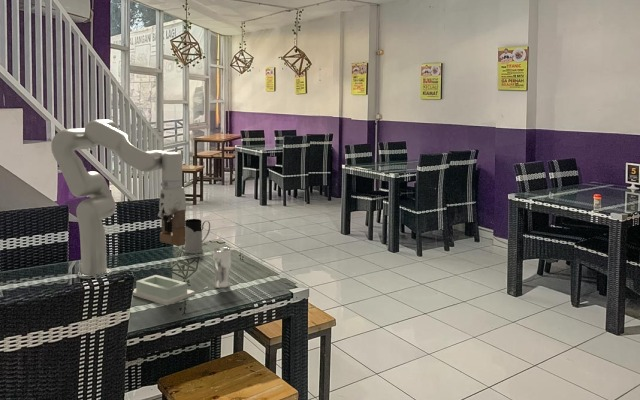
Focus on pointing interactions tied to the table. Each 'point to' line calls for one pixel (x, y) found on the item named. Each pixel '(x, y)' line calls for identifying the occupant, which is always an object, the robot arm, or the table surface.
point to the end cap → (162, 289)
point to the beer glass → (222, 266)
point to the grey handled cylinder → (194, 235)
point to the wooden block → (175, 230)
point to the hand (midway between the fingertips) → (172, 230)
